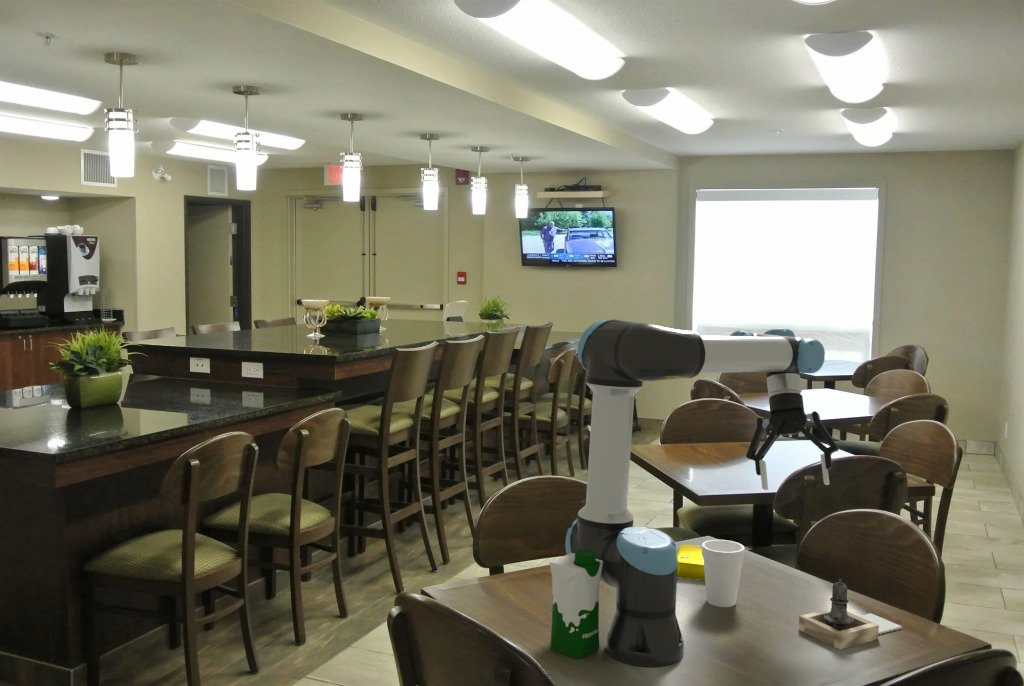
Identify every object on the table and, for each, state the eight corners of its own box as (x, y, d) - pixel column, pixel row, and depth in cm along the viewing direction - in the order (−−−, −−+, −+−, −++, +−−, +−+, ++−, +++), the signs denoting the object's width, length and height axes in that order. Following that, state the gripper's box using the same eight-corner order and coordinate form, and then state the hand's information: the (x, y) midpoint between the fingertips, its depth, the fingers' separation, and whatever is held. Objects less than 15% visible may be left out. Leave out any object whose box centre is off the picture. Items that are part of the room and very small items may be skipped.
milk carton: (580, 662, 174) (582, 561, 172) (543, 649, 179) (544, 551, 177) (605, 647, 180) (607, 550, 179) (569, 635, 186) (570, 540, 184)
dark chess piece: (855, 641, 184) (857, 584, 183) (825, 639, 186) (827, 582, 184) (850, 630, 190) (853, 574, 189) (821, 627, 191) (823, 572, 190)
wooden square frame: (840, 649, 180) (840, 635, 180) (798, 629, 190) (799, 615, 190) (878, 639, 186) (878, 625, 185) (836, 620, 195) (836, 606, 195)
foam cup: (732, 613, 199) (733, 555, 198) (693, 603, 204) (694, 547, 203) (749, 600, 206) (751, 544, 205) (711, 591, 212) (713, 537, 211)
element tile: (738, 565, 231) (739, 547, 231) (734, 585, 217) (735, 566, 217) (679, 559, 236) (680, 541, 235) (672, 578, 221) (672, 559, 221)
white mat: (875, 635, 187) (875, 633, 187) (844, 621, 194) (844, 619, 194) (901, 628, 191) (901, 626, 191) (870, 615, 198) (870, 613, 198)
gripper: (844, 391, 208) (856, 483, 202) (736, 404, 219) (744, 492, 213) (838, 384, 201) (850, 480, 195) (727, 398, 213) (736, 489, 207)
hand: (795, 487), depth 204 cm, fingers open, 13 cm apart
